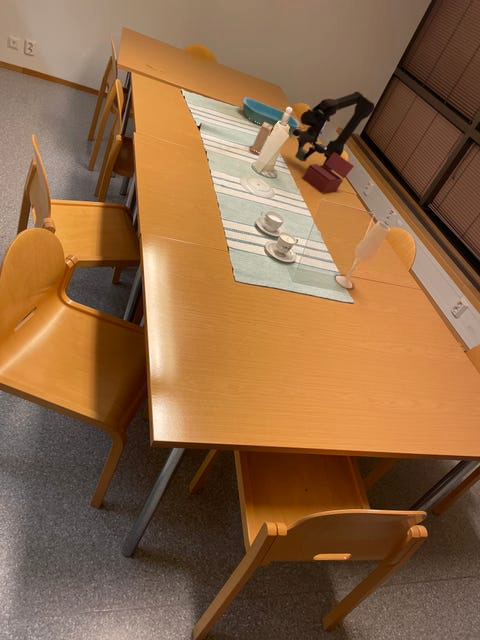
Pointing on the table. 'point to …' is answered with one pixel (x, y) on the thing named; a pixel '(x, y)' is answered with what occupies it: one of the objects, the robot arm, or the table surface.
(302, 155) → the block
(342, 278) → the champagne flute
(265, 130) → the supplement box
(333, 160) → the flap
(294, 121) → the casserole dish
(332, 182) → the dark red open box
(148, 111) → the table surface
